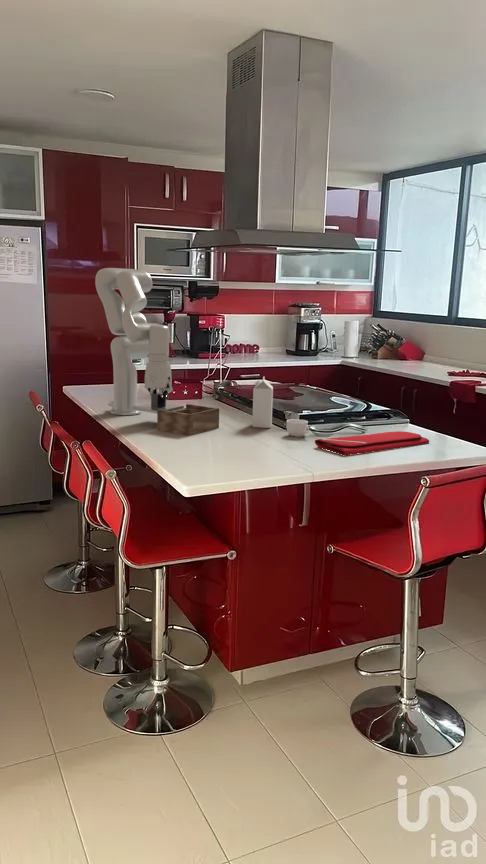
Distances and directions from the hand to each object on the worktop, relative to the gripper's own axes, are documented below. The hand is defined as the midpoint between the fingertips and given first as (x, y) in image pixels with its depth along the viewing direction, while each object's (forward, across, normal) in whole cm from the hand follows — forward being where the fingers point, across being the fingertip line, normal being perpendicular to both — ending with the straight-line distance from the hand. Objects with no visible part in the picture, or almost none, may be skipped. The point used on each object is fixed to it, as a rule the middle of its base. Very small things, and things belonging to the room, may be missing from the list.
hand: (158, 405), depth 264 cm
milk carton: (+7, +33, +23) cm, 41 cm away
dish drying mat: (+7, +80, +20) cm, 83 cm away
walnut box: (+7, +15, 0) cm, 16 cm away
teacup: (+7, +53, +16) cm, 56 cm away
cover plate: (+1, 0, 0) cm, 1 cm away
